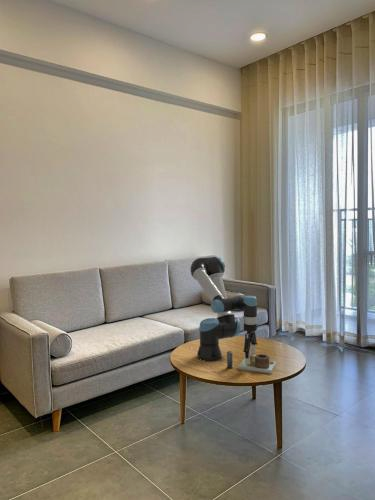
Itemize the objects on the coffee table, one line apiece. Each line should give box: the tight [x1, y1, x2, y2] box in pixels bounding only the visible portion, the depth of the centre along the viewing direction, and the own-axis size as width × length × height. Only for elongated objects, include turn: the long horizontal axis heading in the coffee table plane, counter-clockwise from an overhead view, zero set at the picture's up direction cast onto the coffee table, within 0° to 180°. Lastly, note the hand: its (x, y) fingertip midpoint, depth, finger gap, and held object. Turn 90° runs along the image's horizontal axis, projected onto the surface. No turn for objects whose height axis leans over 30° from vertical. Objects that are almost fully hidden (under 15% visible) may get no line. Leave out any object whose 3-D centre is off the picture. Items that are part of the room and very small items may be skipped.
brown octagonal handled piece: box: [246, 353, 270, 369], centre depth 218 cm, size 12×8×6 cm, turn 67°
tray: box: [237, 357, 277, 375], centre depth 218 cm, size 18×14×2 cm
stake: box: [226, 350, 234, 369], centre depth 218 cm, size 3×3×9 cm
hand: (250, 359), depth 220 cm, fingers open, 13 cm apart
